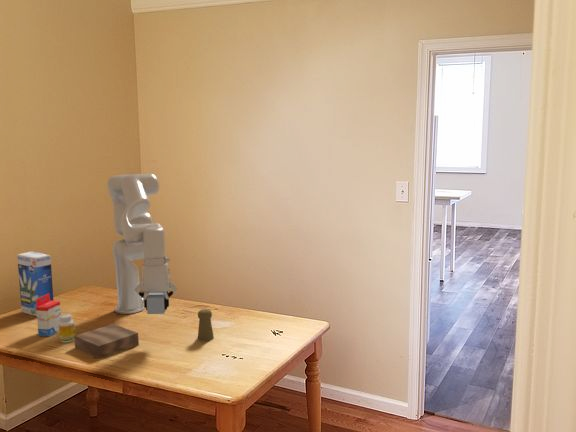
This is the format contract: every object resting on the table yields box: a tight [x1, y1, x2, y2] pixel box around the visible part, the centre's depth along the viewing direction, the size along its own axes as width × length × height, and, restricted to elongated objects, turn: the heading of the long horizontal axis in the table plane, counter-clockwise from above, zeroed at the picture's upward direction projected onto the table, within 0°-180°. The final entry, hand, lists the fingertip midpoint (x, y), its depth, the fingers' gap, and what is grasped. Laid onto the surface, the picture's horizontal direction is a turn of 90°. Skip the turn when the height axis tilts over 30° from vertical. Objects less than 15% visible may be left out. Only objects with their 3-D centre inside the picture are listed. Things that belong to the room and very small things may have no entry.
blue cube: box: [146, 292, 166, 315], centre depth 208 cm, size 6×6×6 cm
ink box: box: [36, 293, 62, 337], centre depth 221 cm, size 8×5×15 cm, turn 168°
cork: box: [197, 308, 215, 342], centre depth 214 cm, size 6×6×11 cm
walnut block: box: [74, 323, 140, 360], centre depth 207 cm, size 16×16×5 cm
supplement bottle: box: [58, 313, 76, 344], centre depth 213 cm, size 5×5×10 cm
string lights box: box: [16, 251, 54, 317], centre depth 245 cm, size 13×8×26 cm, turn 58°
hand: (156, 308), depth 209 cm, fingers closed on blue cube, 6 cm apart
